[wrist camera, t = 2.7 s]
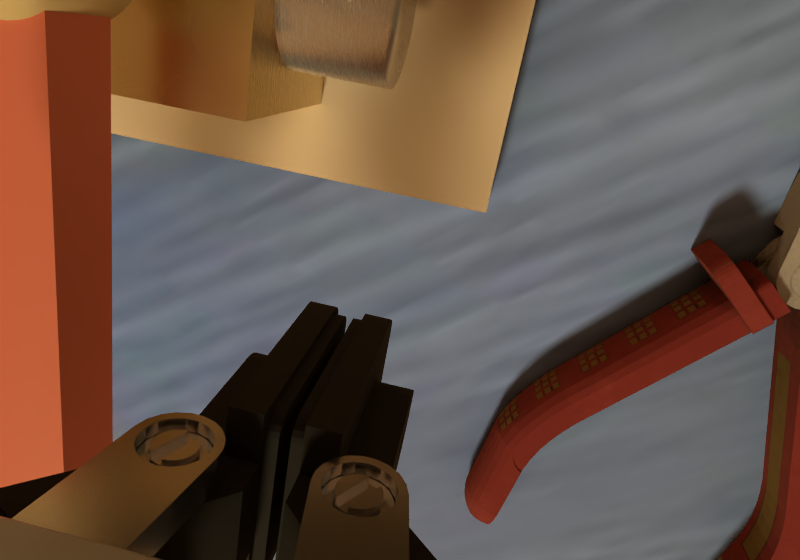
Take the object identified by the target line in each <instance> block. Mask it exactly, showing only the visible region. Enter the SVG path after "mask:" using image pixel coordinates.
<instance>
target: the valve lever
mask: <svg viewBox="0 0 800 560" xmlns="http://www.w3.org/2000/svg"><path fill="white" fill-rule="evenodd" d="M131 2H132V0H0V488H1V487H6V486H10V485H14V484H18V483H22V482H26V481H30V480H34V479H38V478H42V477H46V476H50V475H54V474H58V473H62V472H67V471H71V470H75V469H78V468H79V467H81V466H82V465H83V464H85V463H86V462H87V461H89V460H90V459H91V458H93V457H94V456H95V455H97V454H98V453H99V452H101V451H102V450H103V449H105V448H106V447H107V446H109V445H110V444H111V443H112V214H111V19H113V18H115V17H116V16H118V15H119V14H120V13H121V12H123V11H124V10H125V9H126V8H127V6H128V5H129V4H130V3H131Z"/></svg>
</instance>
